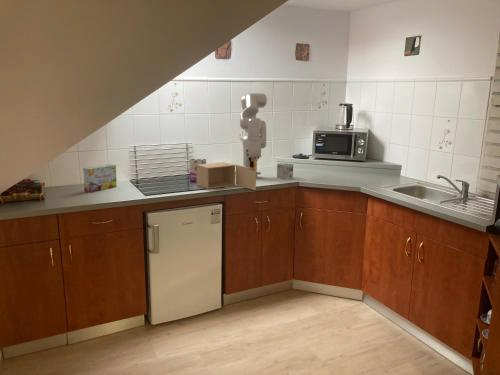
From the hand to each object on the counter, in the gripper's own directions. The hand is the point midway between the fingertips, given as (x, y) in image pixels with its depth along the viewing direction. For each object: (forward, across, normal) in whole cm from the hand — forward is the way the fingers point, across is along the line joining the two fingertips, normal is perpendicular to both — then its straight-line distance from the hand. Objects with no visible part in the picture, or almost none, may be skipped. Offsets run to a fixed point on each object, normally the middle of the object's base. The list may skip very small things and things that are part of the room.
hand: (253, 166), depth 272 cm
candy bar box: (+15, +16, -42) cm, 48 cm away
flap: (+15, 0, -8) cm, 17 cm away
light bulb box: (+15, -45, -19) cm, 51 cm away
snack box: (+16, +80, -55) cm, 99 cm away
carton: (+15, +12, -26) cm, 32 cm away
